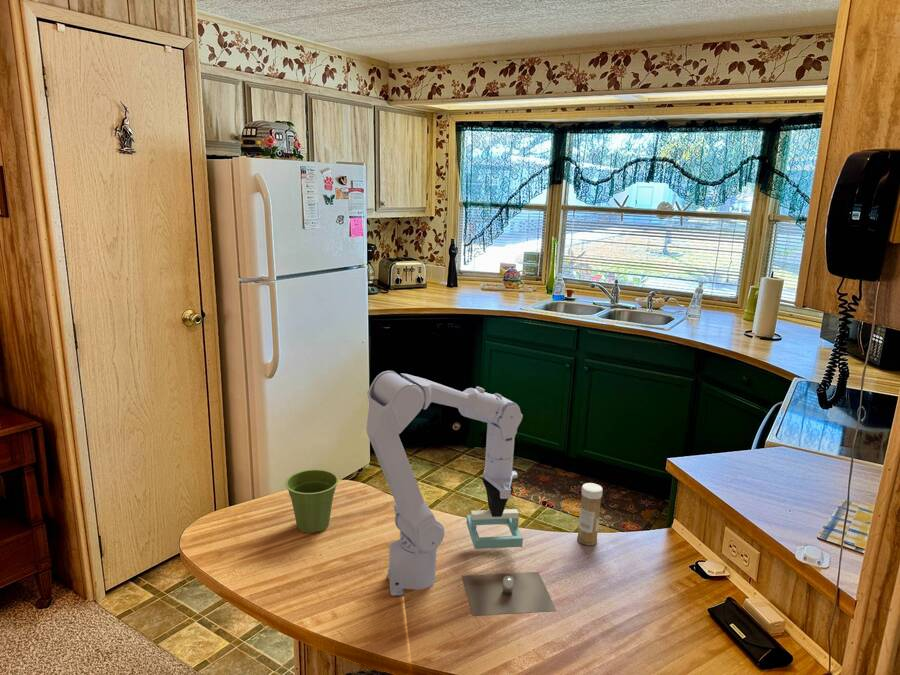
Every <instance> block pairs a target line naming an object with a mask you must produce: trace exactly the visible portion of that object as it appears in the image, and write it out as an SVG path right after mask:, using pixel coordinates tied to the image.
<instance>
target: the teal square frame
mask: <svg viewBox="0 0 900 675" xmlns="http://www.w3.org/2000/svg"><path fill="white" fill-rule="evenodd" d="M519 518H520V512H519V511H518V508H513V509H512V508H510V509H509V508H508V509H506V508H504V511H503V514H502V516H501V517H492V515H491V510H489V509H485V510H471V511H470V514H466V526H467V529H468V532H469V535H470V538H471V542H472V545H473V548H474V550H484V549H485V550H486V549H501V548H502V549H503V548H504V549H505V548H523V542H524V537H523V535H522V533H521V532H520V529H519ZM489 525H490V526H491V525H493V526H494V525H507V526H508V529H509V531H510V533H511V535H506V536H504V535H503V536H501V535H500V536H483V537H482V536H481V537H480V536H479V533H478V530H477V526H489Z"/></svg>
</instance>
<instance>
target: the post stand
mask: <svg viewBox="0 0 900 675" xmlns="http://www.w3.org/2000/svg"><path fill="white" fill-rule="evenodd" d="M461 578H462V582H463V586H464V590H465V593H466V597H467V601H468V604H469V608H470V612H471V616H472V617H477V616H478V617H479V616H481V617H482V616H497V615H510V614H511V615H513V614H527V613H542V612H543V613H544V612H545V613H546V612H557V608H556V607H555V604H554V602H553V600H552V598H551V595H550V592H549V591H548V589H547V587H546V584H545V583H544V580H543V579H542V576H541V574H540V572H539V571H530V572H528V571H527V572H526V571H525V572H509V573H507V572H506V573H492V574H491V573H490V574H487V573H486V574H472V575H469V574H468V575H461Z"/></svg>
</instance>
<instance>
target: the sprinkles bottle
mask: <svg viewBox="0 0 900 675" xmlns="http://www.w3.org/2000/svg"><path fill="white" fill-rule="evenodd" d="M603 491H604V490H603V486H601V485H600V484H597V483H593V482H585V483H583V485H582V486H581V500H580V501H581V502H580V506H579V507H580V509H579V518H578V532H577V537H576V539H577V542H579V543H580V544H582V545H585V546H594V545H596V544H597V542H598V531H599V525H600V524H599V522H600V512H601V502H602V497H603Z"/></svg>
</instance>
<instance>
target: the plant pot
mask: <svg viewBox="0 0 900 675" xmlns="http://www.w3.org/2000/svg"><path fill="white" fill-rule="evenodd" d="M339 481H340V479H339V476H338V475H337V474H336V473H334V472H332V471H330V470H325V469H321V468H320V469H318V468H312V469H304V470H301V471H298V472H294V473H293V474H291V475H290V476H289V477H287V479H286V480H285V481H284V486H285V488H286V489H287V490H288V495H289V497H290V499H291V504H292V508H293V509H292V510H293V514H294V518H295V522H296V527H297V529H298V530H299V531H301V532H303V533H307V534H314V533H316V532H323V531H325V529H327V528H328V527H329V525H330V522H331V513H332V508H333V500H334V495H335V492H336V487H337V486H338V484H339Z"/></svg>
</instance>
